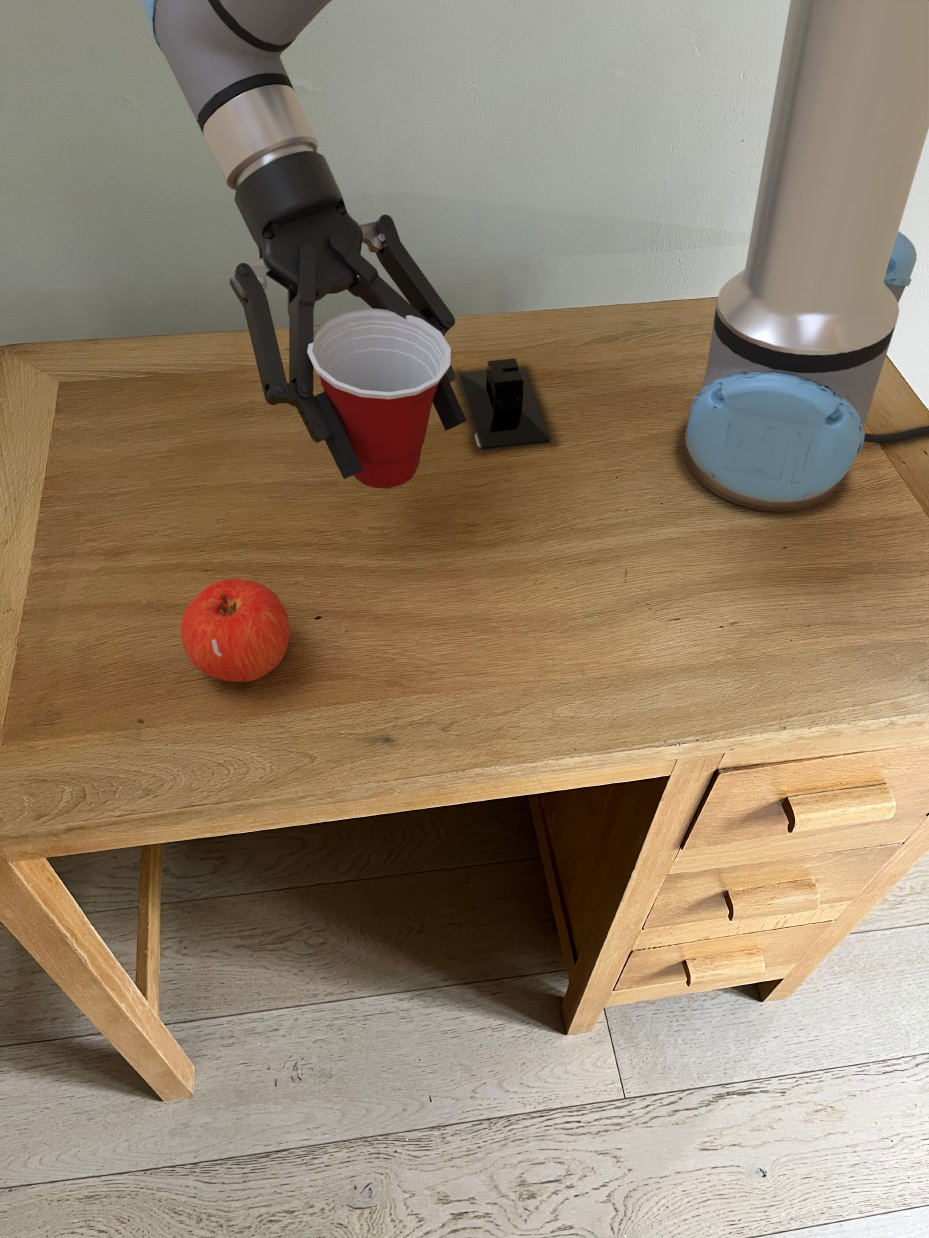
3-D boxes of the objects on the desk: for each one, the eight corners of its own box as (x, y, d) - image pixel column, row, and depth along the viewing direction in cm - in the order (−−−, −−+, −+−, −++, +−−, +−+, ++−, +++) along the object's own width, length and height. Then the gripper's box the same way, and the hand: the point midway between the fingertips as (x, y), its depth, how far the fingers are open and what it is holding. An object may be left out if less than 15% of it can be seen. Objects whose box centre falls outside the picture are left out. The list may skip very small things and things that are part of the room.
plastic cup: (434, 520, 70) (434, 399, 60) (306, 499, 71) (287, 377, 61) (461, 436, 76) (465, 315, 67) (344, 418, 77) (331, 297, 68)
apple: (279, 708, 65) (261, 645, 59) (178, 691, 66) (149, 627, 60) (309, 627, 70) (295, 560, 64) (214, 612, 71) (192, 545, 65)
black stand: (550, 443, 85) (555, 405, 81) (478, 451, 84) (480, 413, 80) (522, 368, 93) (526, 330, 89) (456, 375, 92) (456, 337, 88)
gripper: (380, 159, 72) (490, 409, 77) (132, 235, 63) (274, 512, 68) (416, 111, 65) (534, 389, 70) (144, 190, 56) (300, 501, 61)
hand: (406, 449), depth 69 cm, fingers closed on plastic cup, 9 cm apart
